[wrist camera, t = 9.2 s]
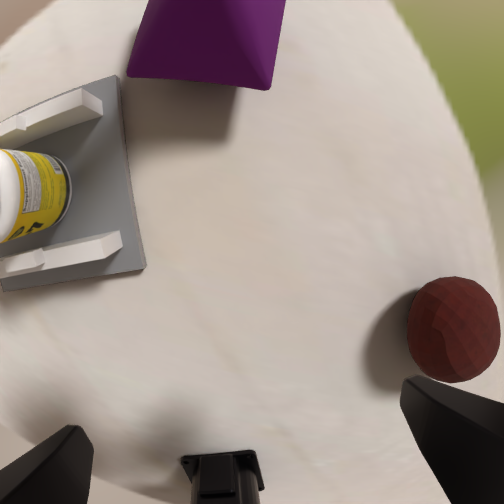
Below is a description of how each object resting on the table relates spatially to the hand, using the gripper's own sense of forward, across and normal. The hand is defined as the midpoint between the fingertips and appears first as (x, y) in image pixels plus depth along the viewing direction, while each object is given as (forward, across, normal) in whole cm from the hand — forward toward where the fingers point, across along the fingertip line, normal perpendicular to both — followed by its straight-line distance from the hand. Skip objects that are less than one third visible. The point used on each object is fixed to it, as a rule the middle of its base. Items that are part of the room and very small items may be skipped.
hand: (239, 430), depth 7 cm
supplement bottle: (+12, +11, -8) cm, 18 cm away
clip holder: (+12, +11, -8) cm, 18 cm away
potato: (+13, -15, +6) cm, 21 cm away
